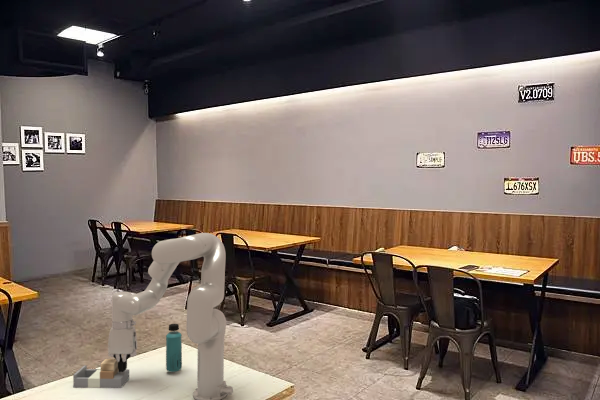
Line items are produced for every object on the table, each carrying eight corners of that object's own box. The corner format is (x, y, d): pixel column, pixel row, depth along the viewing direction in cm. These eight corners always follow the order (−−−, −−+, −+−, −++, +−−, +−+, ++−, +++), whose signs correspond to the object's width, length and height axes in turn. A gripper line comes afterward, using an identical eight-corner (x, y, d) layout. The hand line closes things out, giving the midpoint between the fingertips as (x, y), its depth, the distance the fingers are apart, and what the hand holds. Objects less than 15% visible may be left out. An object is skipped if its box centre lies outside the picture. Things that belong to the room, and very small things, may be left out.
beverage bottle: (177, 376, 188) (177, 327, 187) (162, 374, 189) (162, 326, 189) (184, 369, 194) (184, 322, 194) (170, 368, 196) (170, 321, 195)
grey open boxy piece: (129, 378, 186) (129, 363, 185) (120, 387, 177) (120, 372, 176) (84, 377, 185) (84, 363, 185) (73, 387, 176) (73, 372, 176)
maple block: (118, 371, 183) (118, 358, 183) (113, 376, 178) (113, 363, 178) (105, 371, 183) (105, 358, 183) (100, 376, 178) (100, 363, 178)
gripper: (144, 321, 184) (144, 367, 185) (107, 321, 184) (107, 366, 185) (138, 327, 177) (138, 374, 177) (99, 327, 177) (99, 374, 177)
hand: (122, 370), depth 181 cm, fingers closed
